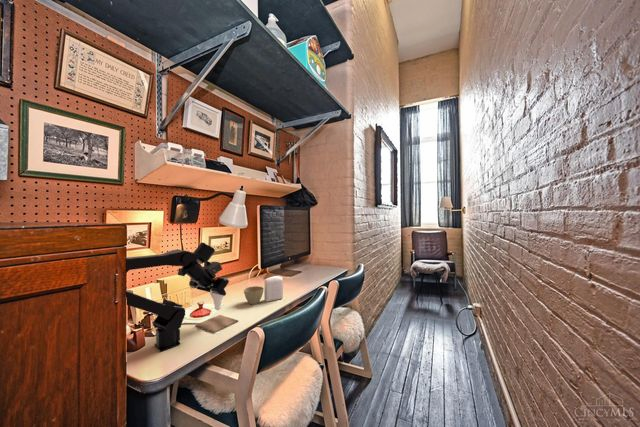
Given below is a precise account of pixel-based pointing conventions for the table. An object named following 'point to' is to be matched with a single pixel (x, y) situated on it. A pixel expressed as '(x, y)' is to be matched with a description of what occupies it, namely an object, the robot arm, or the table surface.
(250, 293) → the flower pot
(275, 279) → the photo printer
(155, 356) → the table surface
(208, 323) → the coaster
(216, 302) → the lightbulb
